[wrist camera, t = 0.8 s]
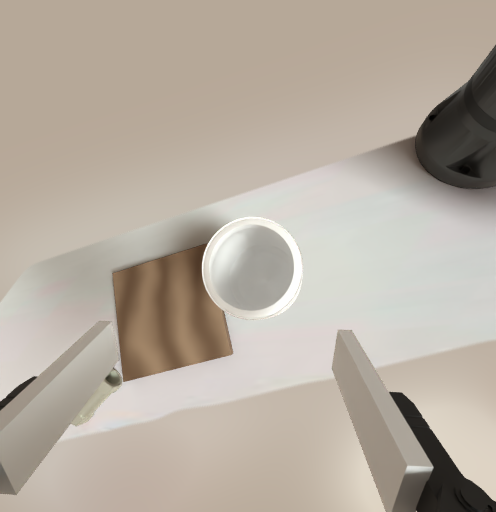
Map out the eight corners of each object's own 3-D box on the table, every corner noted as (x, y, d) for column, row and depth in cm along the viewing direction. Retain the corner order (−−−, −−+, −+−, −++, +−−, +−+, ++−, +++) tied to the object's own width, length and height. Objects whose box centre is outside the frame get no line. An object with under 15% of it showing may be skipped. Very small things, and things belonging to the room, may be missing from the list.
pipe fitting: (75, 385, 41) (92, 419, 39) (52, 391, 37) (69, 429, 35) (107, 351, 41) (126, 383, 39) (87, 353, 38) (107, 389, 35)
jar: (225, 269, 40) (186, 245, 25) (280, 240, 39) (271, 198, 25) (253, 328, 37) (226, 339, 22) (313, 298, 36) (325, 289, 22)
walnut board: (209, 245, 41) (206, 243, 40) (233, 353, 36) (230, 355, 35) (118, 274, 44) (112, 273, 42) (129, 379, 39) (123, 381, 37)
